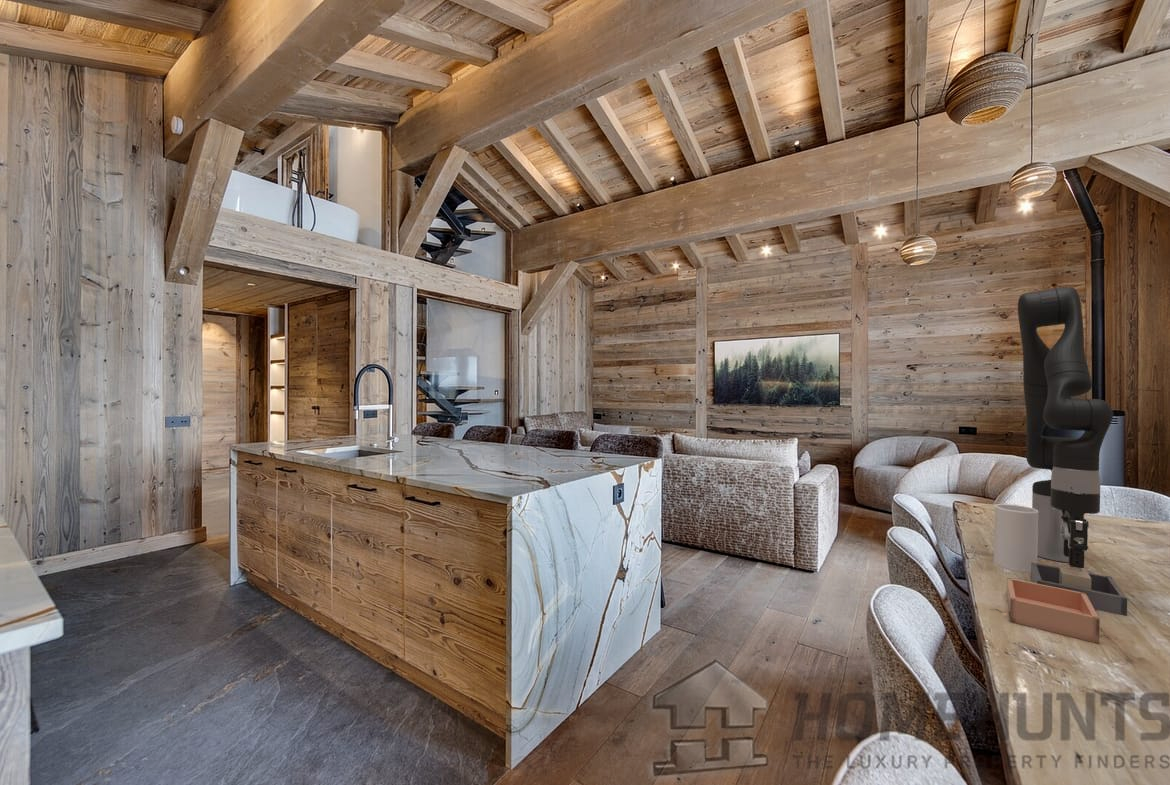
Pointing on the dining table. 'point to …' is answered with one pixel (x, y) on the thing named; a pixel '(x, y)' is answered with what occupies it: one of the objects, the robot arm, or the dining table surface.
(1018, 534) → the cup
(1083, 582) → the block
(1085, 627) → the bin
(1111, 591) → the bin
